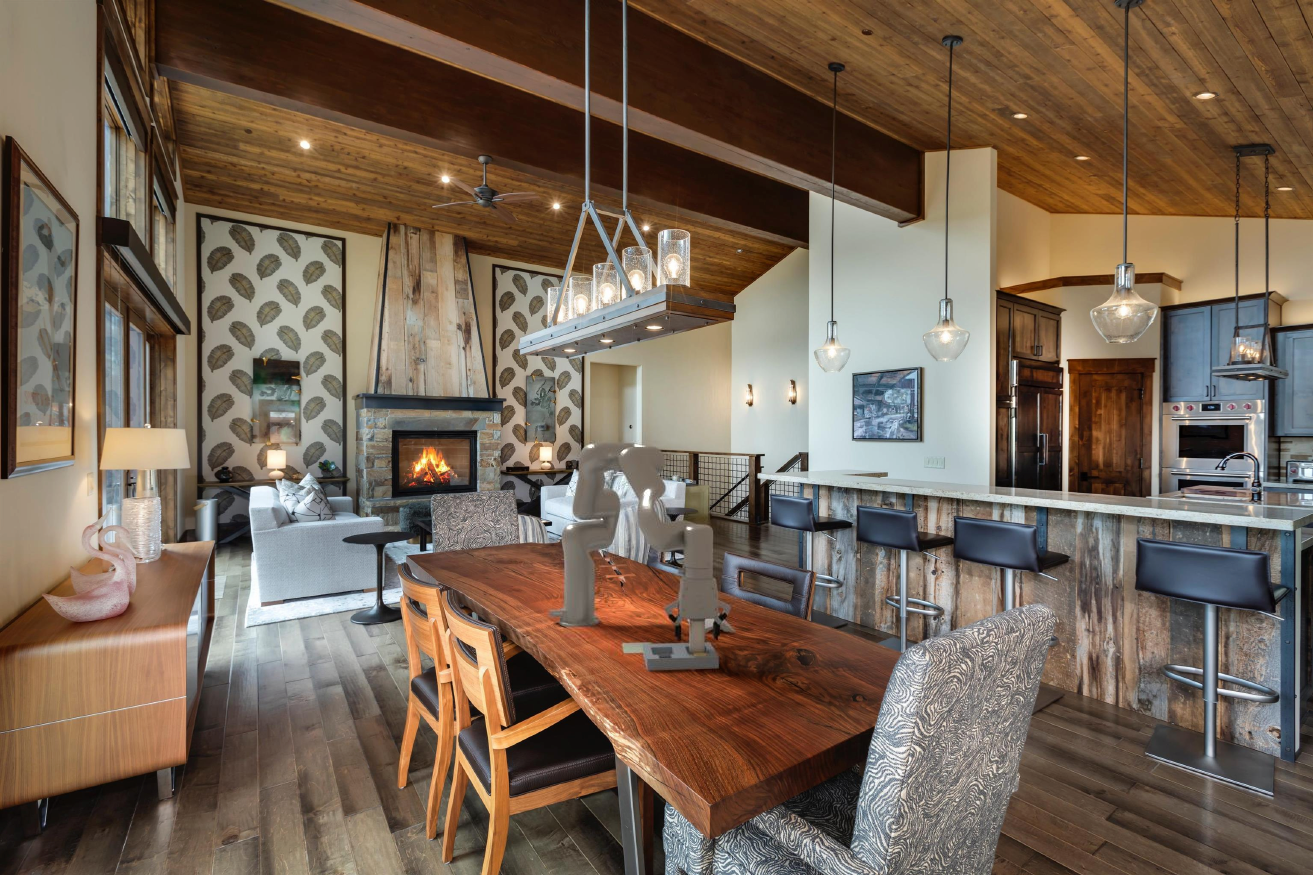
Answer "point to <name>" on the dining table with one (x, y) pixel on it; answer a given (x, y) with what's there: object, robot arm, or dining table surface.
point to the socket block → (678, 657)
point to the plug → (697, 636)
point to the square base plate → (633, 647)
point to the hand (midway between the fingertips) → (697, 638)
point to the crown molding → (723, 626)
